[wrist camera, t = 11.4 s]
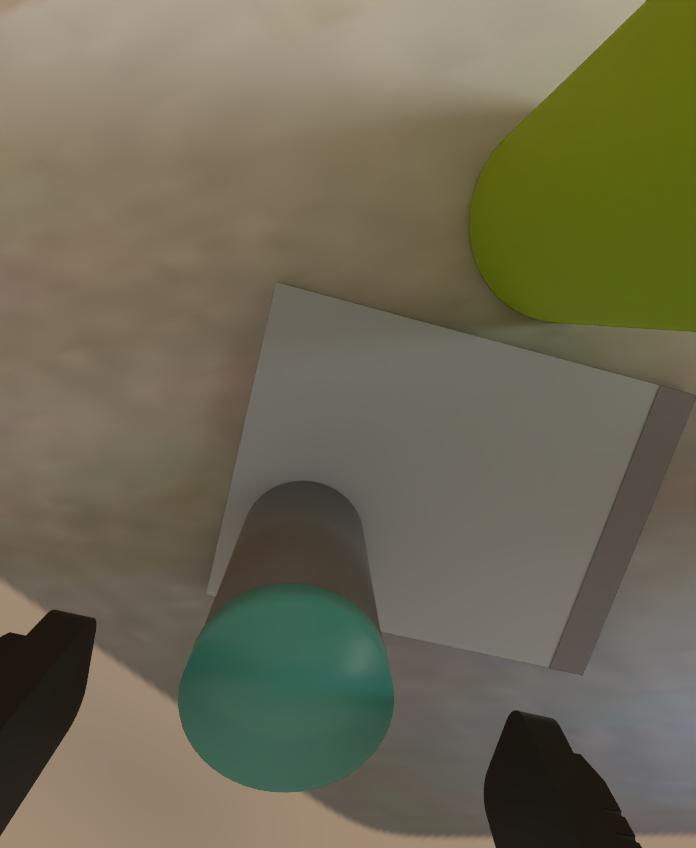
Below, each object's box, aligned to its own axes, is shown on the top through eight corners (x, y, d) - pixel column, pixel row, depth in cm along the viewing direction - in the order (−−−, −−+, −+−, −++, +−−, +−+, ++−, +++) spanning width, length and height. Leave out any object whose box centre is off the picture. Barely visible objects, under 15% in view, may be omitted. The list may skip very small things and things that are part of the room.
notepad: (682, 392, 16) (697, 395, 16) (574, 662, 18) (582, 675, 18) (278, 283, 15) (275, 282, 14) (210, 584, 17) (205, 595, 17)
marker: (381, 498, 16) (422, 637, 9) (344, 607, 17) (357, 810, 10) (259, 463, 16) (207, 583, 9) (227, 577, 16) (156, 768, 10)
